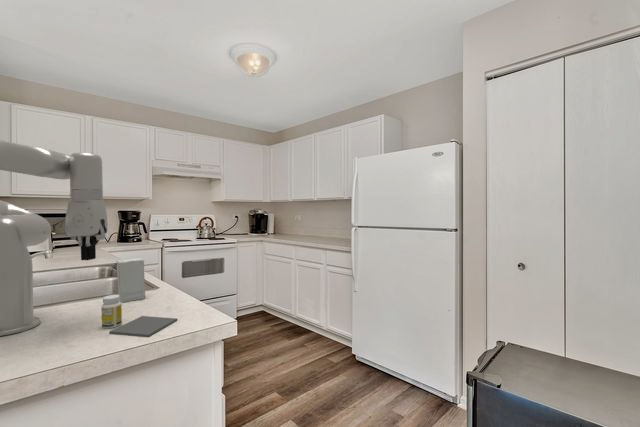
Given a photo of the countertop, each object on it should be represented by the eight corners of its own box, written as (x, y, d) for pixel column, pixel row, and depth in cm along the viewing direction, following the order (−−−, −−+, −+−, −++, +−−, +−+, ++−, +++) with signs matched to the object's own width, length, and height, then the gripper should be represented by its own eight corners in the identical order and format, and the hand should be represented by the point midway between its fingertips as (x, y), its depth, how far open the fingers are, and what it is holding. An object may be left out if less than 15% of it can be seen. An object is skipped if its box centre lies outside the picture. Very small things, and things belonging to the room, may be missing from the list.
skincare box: (142, 295, 119) (142, 257, 119) (145, 299, 114) (145, 259, 114) (116, 299, 114) (116, 259, 113) (118, 303, 109) (118, 261, 109)
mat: (109, 333, 83) (109, 331, 83) (142, 317, 95) (142, 315, 95) (148, 337, 81) (148, 334, 81) (177, 320, 93) (177, 318, 93)
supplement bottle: (118, 321, 92) (118, 293, 92) (124, 325, 89) (124, 296, 89) (99, 326, 89) (99, 296, 88) (104, 330, 86) (104, 300, 85)
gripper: (52, 196, 87) (53, 261, 88) (97, 195, 85) (99, 262, 85) (77, 197, 95) (78, 256, 95) (120, 196, 92) (121, 258, 92)
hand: (88, 259), depth 90 cm, fingers closed
